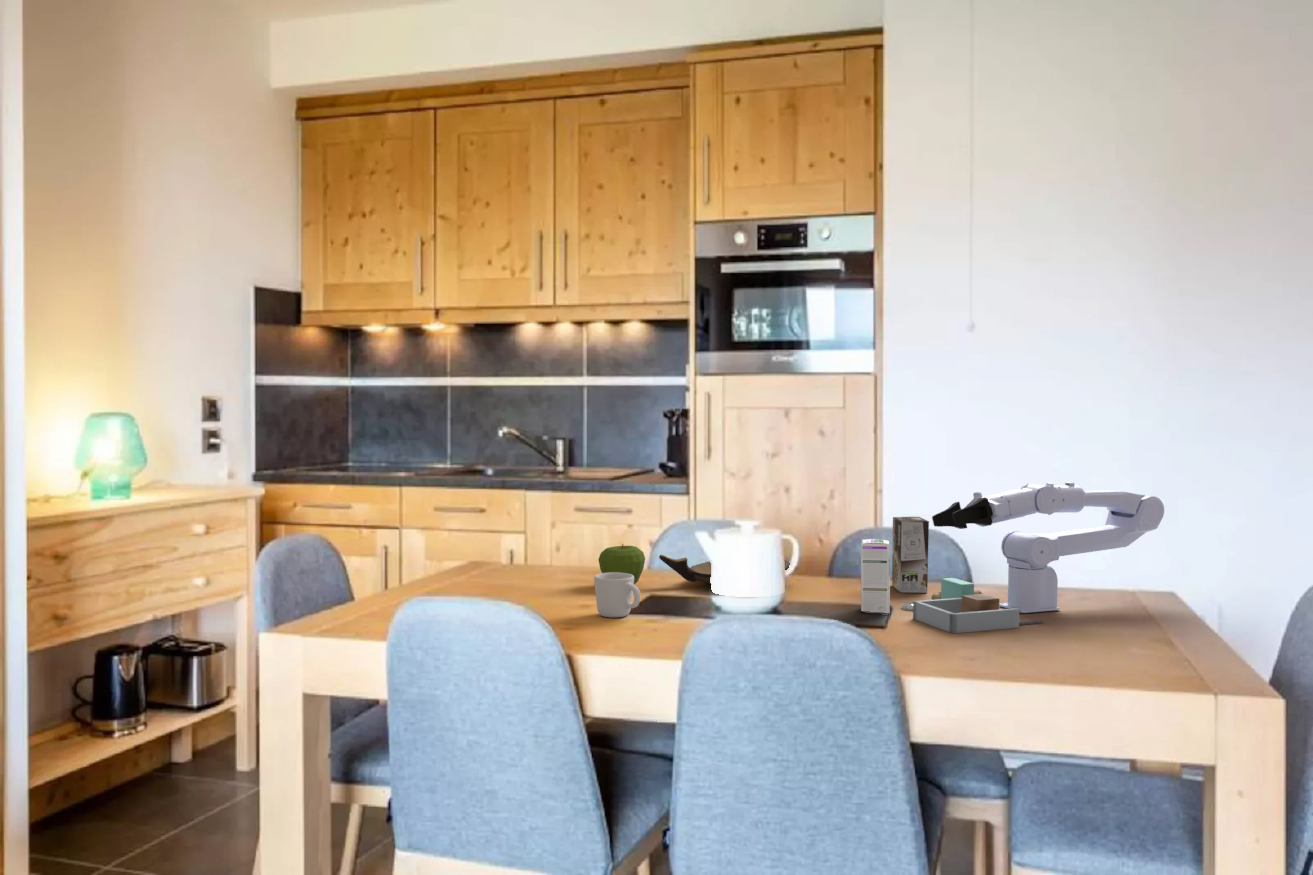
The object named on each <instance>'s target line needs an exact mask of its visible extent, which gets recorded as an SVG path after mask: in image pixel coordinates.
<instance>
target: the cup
mask: <svg viewBox="0 0 1313 875" xmlns="http://www.w3.org/2000/svg"><path fill="white" fill-rule="evenodd" d="M593 580H594V588H595V589H594V592H595V600H596V602H595V603H596V608H597V609H596V610H597V612H598V615H600V616H602V617H605V618H611V619H612V618H613V619H615V618H623V617H627V616H629V614H630V612H631V610H632V609H634V608H635V609H636V608H637V607H638V606H639V605H640V601H641V591H640V589H639V587H638V586H637V585H636V584H634V576H633V575H632V574H628V573H618V572H610V573H602V572H601V573H598V574H595V575H594V578H593ZM633 595H634V597H633Z"/></svg>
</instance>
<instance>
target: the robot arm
mask: <svg viewBox="0 0 1313 875" xmlns="http://www.w3.org/2000/svg"><path fill="white" fill-rule="evenodd" d="M1085 507H1095V508H1097V507H1100V508H1101V507H1102V508H1106V509H1107V511H1108V514H1107V518H1106V521H1105V525H1101V526H1096V527H1093V526H1092V527H1087V528H1079V529H1071V530H1064V531H1057V532H1050V533H1025V532H1022V531H1017V530H1011V531H1009V532H1008V533H1007V534H1006V535H1005V536H1004V537H1003V539H1002V540H1001V546H1000V547H1001V548H1000V549H1001V552H1002V555H1003V556H1004V557H1005V558H1006V563H1007V564H1008V567H1007V568H1008V569H1007V572H1008V573H1007V574H1008V575H1007V576H1008V577H1007V602H1002V603H1000V602H999V607H1002V608H1003V609H1012V608H1017V609H1019V613H1022V614H1027V613H1029V614H1030V613H1041V612H1050V611H1052V612H1053V611H1060V607H1059V606H1058V589H1059V588H1058V586H1059V585H1058V581H1059V580H1058V576H1057V573H1056V571H1055V569H1054V568H1053V567H1052V566H1050V565H1048V564H1050V563H1052V562H1055V561H1059V559H1060V557H1064V556H1072V555H1079V554H1086V553H1092V552H1100V551H1107V550H1115V549H1121V548H1127V547H1129V546H1131V544H1133V543H1134V542H1135V541H1137V540H1138V539H1139V538H1141V537H1143V536H1144V535H1145V534H1147V533H1148V532H1152V531H1155V530H1157V529H1158V528H1159V526H1160V524H1161V522H1162V520H1163V519H1164V518H1163V517H1164V515H1165V505H1164V503H1163V501H1162V500H1161V499H1160V498H1159V497H1157V496H1155V495H1154V496H1153V495H1145V494H1140V493H1136V492H1135V493H1134V492H1129V491H1123V490H1114V489H1111V490H1110V489H1107V490H1106V489H1105V490H1084V489H1083V488H1082V487H1081V486H1080V485H1077V484H1076V483H1075V482H1071V481H1066V482H1065V483H1064V484H1054V483H1053V482H1046V484H1045V485H1043V484H1042V485H1041V484H1035V483H1030V484H1029V483H1025V484H1023V485H1022V486H1021V487H1020V488H1019V489H1011V490H1008V491H1004V492H998V493H995V494H991V495H990V494H989V495H985V496H983V494H982V492H981V491H977V492H973V499H971V501H970V502H969V503H968V504H966V506H964V507H963V508H961V503H960V501H955V502H954V503H952V504H950V506H948V508H946V509H945V510H943V511H941V512H938V513H936V514H934V515H932V516H931V519H932V524H933V526H934V527H937V528H938V527H939V528H940V527H941V528H942V527H952V528H956V529H961V530H962V529H963V530H964V529H968V525H967V524H975V525H977V526H979V527H988V526H991V525H992V524H993V525H994V524H996V523H1001V522H1006V521H1009V520H1013V519H1017V518H1023V517H1026V516H1030V515H1035V514H1036V513H1038V514H1045V515H1048V516H1051V515H1052V514H1055V513H1058V514H1059V513H1079V512H1081V511H1083V509H1084V508H1085Z"/></svg>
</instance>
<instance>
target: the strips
mask: <svg viewBox="0 0 1313 875" xmlns="http://www.w3.org/2000/svg"><path fill="white" fill-rule="evenodd" d="M1036 623H1037V624H1043V623H1044V620H1041V619H1037V620H1036V619H1035V620H1026V621H1019V626H1024V625H1035V624H1036Z"/></svg>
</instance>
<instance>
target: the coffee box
mask: <svg viewBox="0 0 1313 875" xmlns="http://www.w3.org/2000/svg"><path fill="white" fill-rule="evenodd" d="M929 530H930V521H929V520H927V519H924V518H923V517H921V516H893V517H892V545H891V546H892V549H891V550H892V554H891V556H892V557H891V558H892V560H891V561H892V562H891V563H892V564H891V565H892V566H891V567H892V569H891V570H892V571H891V575H892V576H891V578H892V580H891V585H892V587H893V588H895V590H897V591H898V592H899V593H905V594H906V593H909V594H910V593H912V594H913V593H916V594H917V593H918V594H919V593H920V594H921V593H922V594H927V593H928V582H929V581H928V576H929V575H928V574H929V573H928V572H929V540H930V538H929V536H930V534H929V532H930V531H929Z"/></svg>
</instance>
